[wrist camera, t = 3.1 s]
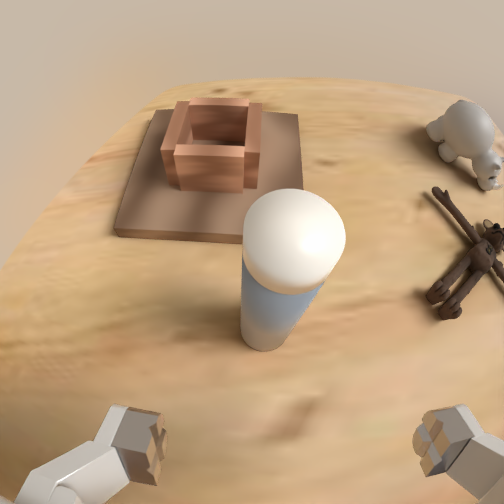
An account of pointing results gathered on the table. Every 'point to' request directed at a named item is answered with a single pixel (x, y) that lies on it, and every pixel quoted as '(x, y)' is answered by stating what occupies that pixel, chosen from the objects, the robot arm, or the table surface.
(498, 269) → the brown toy monkey
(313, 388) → the table surface
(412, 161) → the table surface
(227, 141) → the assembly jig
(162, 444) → the robot arm
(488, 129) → the chubby cartoon animal
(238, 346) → the table surface
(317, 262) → the white-capped blue cylinder
